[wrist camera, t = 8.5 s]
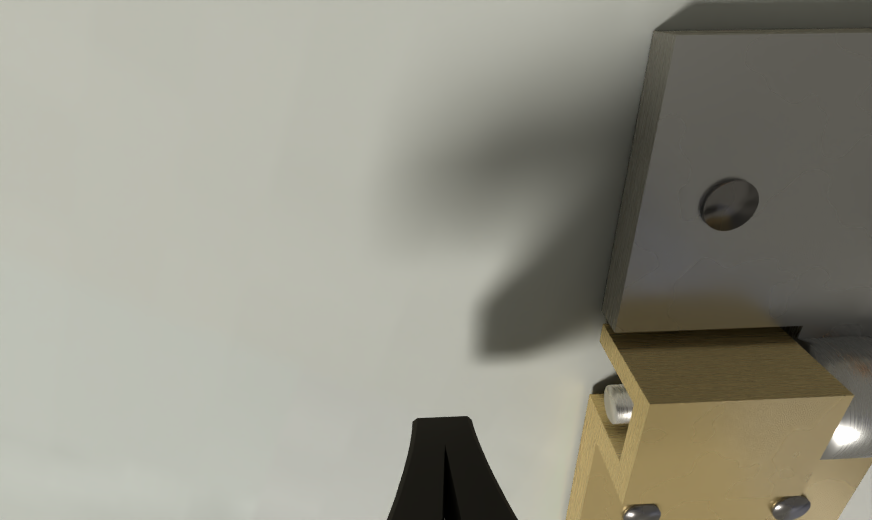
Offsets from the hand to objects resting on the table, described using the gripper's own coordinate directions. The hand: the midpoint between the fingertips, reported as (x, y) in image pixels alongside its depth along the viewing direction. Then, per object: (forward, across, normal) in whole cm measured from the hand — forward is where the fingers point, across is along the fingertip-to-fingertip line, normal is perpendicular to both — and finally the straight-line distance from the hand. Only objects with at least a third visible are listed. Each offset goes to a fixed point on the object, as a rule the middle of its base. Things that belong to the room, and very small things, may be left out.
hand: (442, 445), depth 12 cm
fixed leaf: (+3, -9, -4) cm, 10 cm away
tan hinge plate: (+2, -9, +3) cm, 10 cm away
